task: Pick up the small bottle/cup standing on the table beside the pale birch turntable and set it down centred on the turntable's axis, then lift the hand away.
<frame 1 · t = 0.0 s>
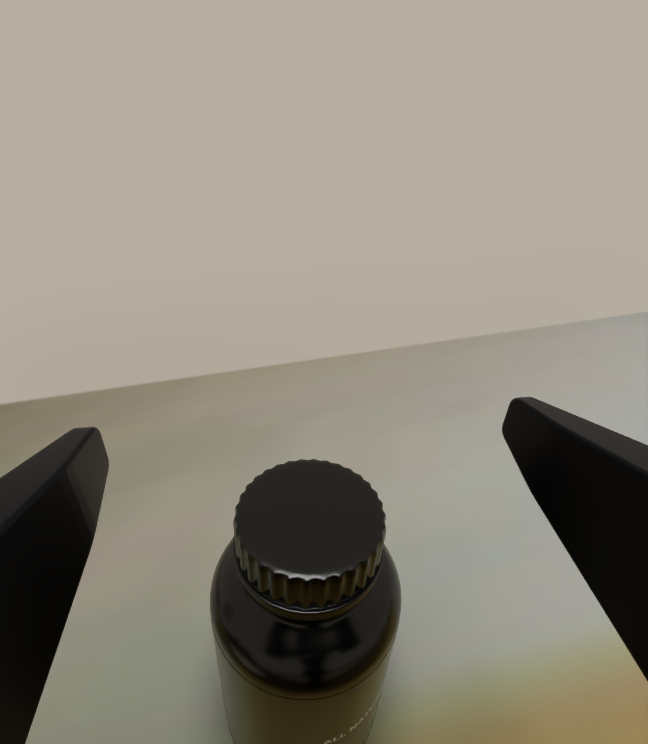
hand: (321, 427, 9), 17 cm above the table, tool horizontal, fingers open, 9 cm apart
supplement bottle: (302, 690, 19), on the table
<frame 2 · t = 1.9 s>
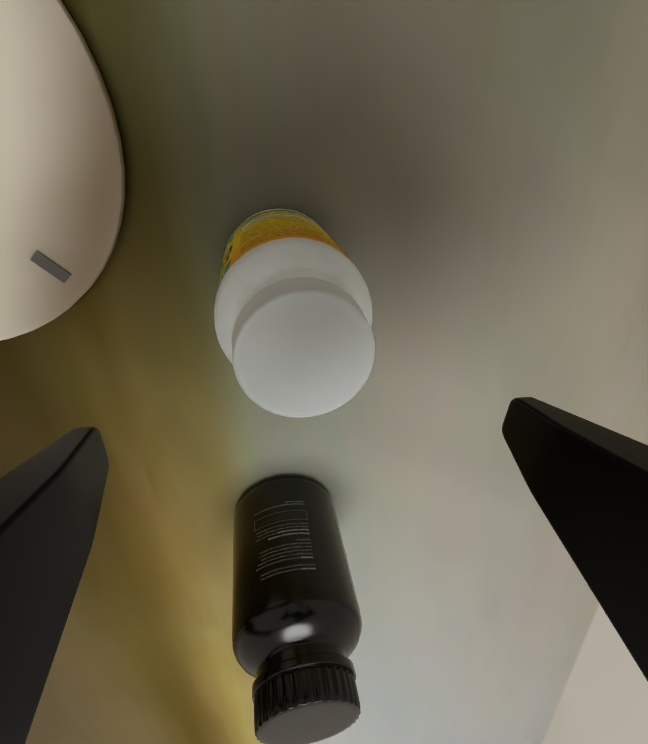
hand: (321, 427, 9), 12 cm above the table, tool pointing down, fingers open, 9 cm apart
supplement bottle: (284, 506, 28), on the table
supplement bottle 2: (280, 264, 19), on the table
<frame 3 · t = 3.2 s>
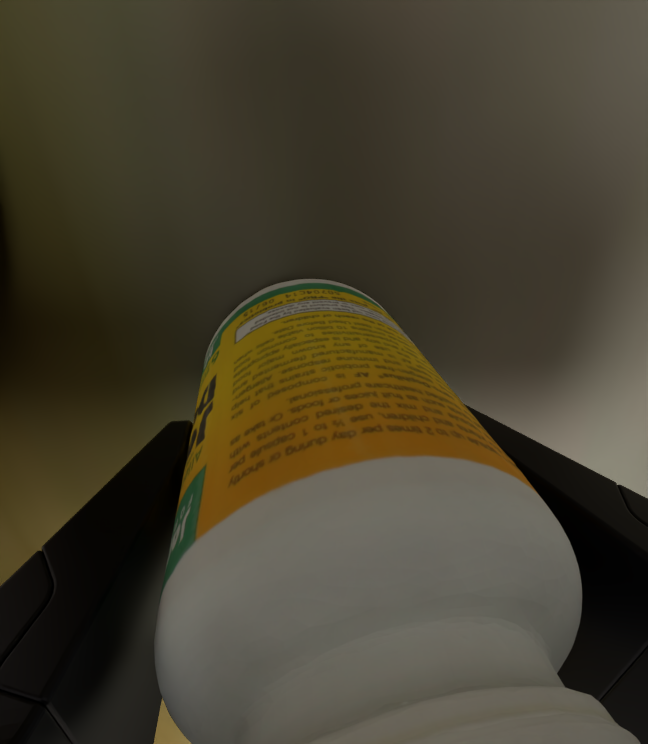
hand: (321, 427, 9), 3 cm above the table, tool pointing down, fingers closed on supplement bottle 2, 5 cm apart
supplement bottle 2: (305, 365, 11), on the table, touching gripper
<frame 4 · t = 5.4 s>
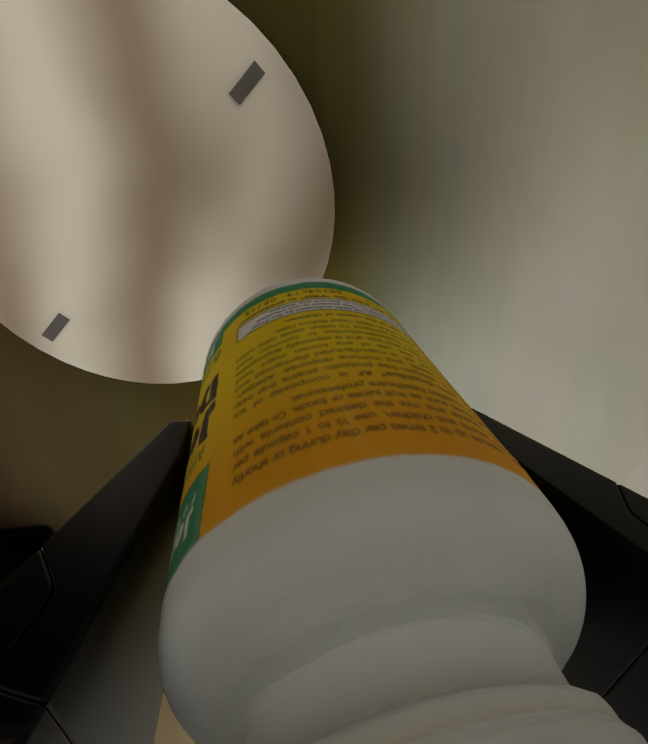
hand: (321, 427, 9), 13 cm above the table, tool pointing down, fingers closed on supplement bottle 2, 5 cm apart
supplement bottle 2: (306, 364, 11), point 10 cm above the table, touching gripper
turntable: (143, 216, 17), point 1 cm above the table, hinge at 0.0°
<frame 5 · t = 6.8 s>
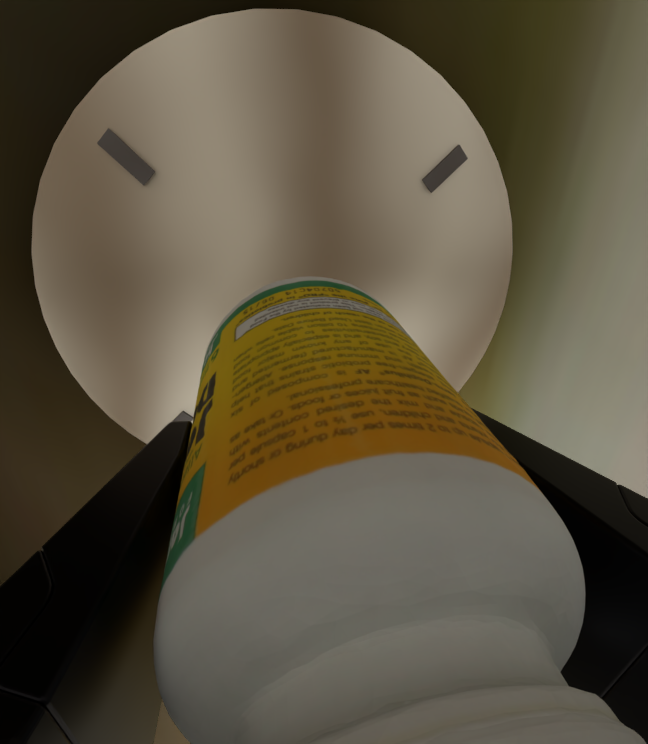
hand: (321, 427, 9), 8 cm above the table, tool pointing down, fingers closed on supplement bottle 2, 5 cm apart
supplement bottle 2: (305, 363, 11), point 5 cm above the table, touching gripper
turntable: (294, 308, 14), point 1 cm above the table, hinge at 0.0°
when the fingers open (5 cm above the table, at t = 7.7 s): supplement bottle 2 drops 1 cm, resting on turntable.
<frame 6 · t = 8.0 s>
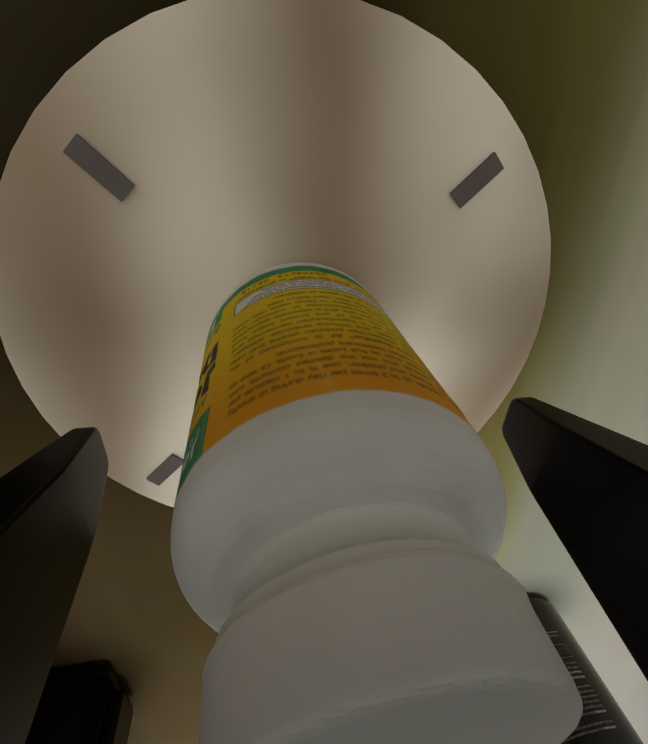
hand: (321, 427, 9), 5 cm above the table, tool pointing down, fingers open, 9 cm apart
supplement bottle: (501, 619, 27), on the table
supplement bottle 2: (298, 341, 12), point 1 cm above the table, touching turntable
turntable: (299, 338, 12), point 1 cm above the table, hinge at 0.0°, touching supplement bottle 2
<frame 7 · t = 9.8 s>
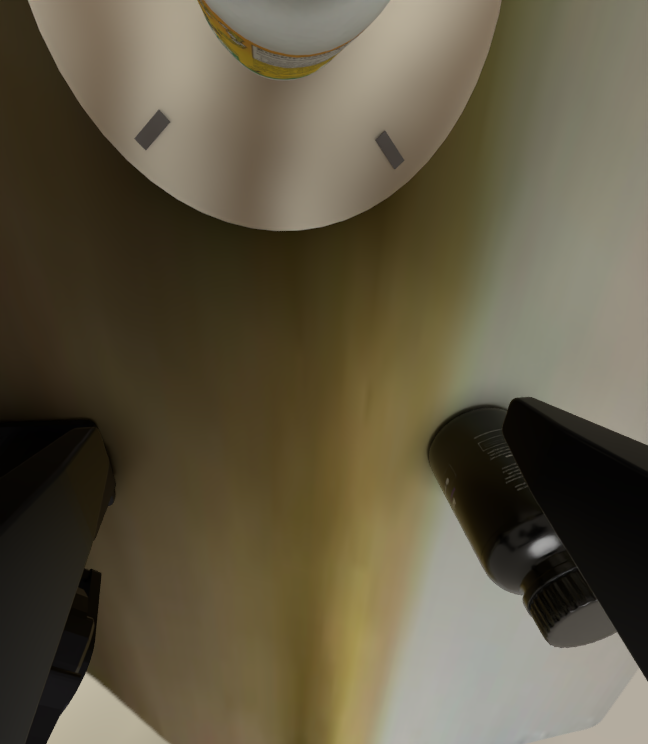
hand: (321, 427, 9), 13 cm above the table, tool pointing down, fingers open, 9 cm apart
supplement bottle: (471, 441, 28), on the table
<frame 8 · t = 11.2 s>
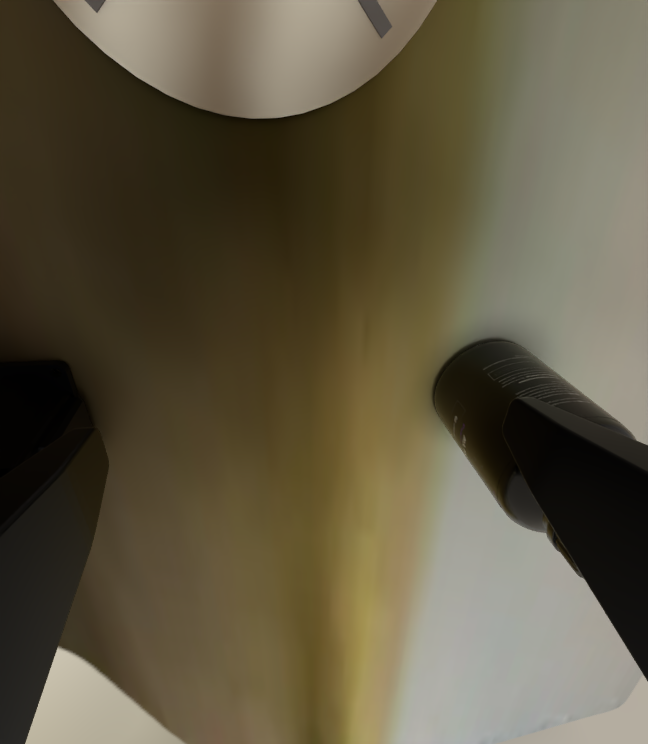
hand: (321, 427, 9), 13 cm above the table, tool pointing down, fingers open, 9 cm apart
supplement bottle: (479, 383, 26), on the table
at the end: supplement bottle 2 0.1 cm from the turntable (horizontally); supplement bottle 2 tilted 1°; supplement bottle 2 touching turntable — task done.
